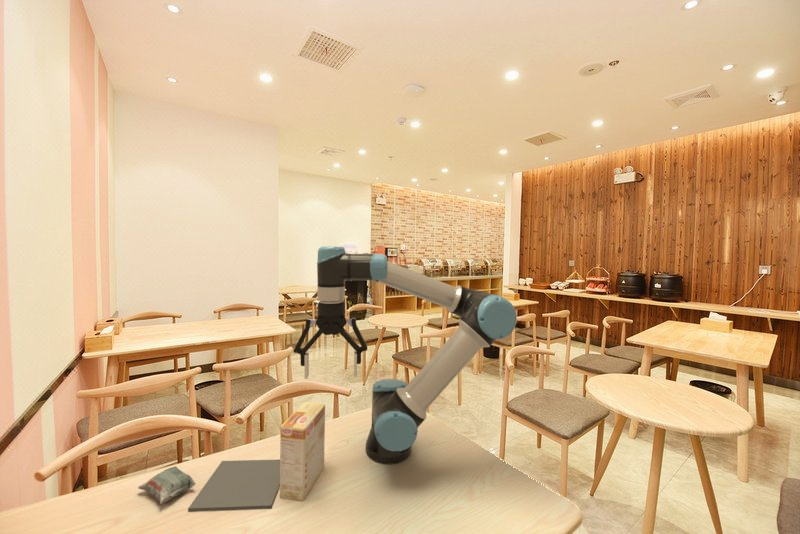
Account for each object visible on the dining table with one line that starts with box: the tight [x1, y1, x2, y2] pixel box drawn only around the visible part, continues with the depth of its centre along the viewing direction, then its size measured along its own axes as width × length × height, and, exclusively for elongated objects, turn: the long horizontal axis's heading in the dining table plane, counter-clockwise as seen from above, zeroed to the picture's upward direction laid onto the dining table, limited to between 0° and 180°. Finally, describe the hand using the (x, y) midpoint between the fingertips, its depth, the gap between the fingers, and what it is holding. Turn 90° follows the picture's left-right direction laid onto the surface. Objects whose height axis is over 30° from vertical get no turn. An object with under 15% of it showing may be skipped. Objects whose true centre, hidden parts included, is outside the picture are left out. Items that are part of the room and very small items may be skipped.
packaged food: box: [137, 465, 196, 505], centre depth 89 cm, size 9×12×5 cm
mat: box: [187, 459, 280, 513], centre depth 93 cm, size 20×19×1 cm
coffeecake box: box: [279, 401, 326, 502], centre depth 95 cm, size 15×7×20 cm, turn 171°
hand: (331, 376), depth 95 cm, fingers open, 13 cm apart
